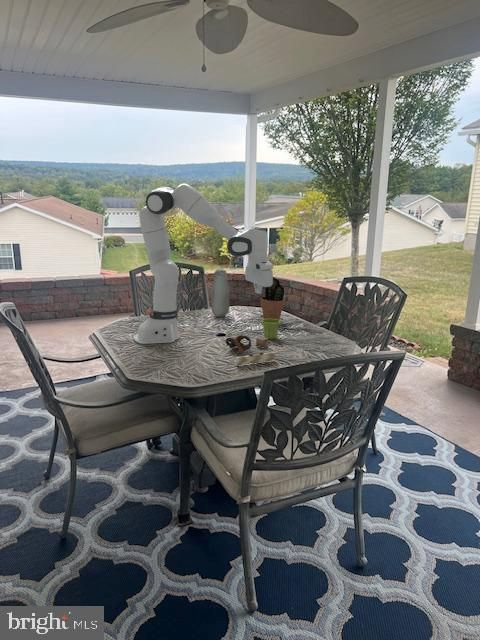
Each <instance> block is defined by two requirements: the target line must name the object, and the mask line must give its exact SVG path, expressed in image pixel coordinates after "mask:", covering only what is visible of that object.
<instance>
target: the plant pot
mask: <svg viewBox="0 0 480 640" xmlns="http://www.w3.org/2000/svg"><path fill="white" fill-rule="evenodd" d="M261 323H262V326H263V334H264V335H263V337H265V338H268V340H270V339H271V340H272V339H274V338H275V339H277V337H278V331H279V326H280V323H281V320H277V319H264V318H263V319H262V320H261Z"/></svg>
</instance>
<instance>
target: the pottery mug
mask: <svg viewBox="0 0 480 640" xmlns="http://www.w3.org/2000/svg"><path fill="white" fill-rule="evenodd" d="M244 339H245V340H246V341H247V342H248V344H244V343H242V340H244ZM225 344H226V345H227V346H228V348H229V349H230V350H231V349H232V348H233V347H234V348H236V347H237V348H238V350H237V353H238V352H239V353H238V354H240V353H241V354H243V353H244V352H247V351H249V350H250V348H251V347H252V340H251V339H250V337H249V336H247V335H243V334H240V335H237V336H236V337H234V338H232V337H226V339H225ZM234 348H233V349H234ZM233 349H232V350H233Z"/></svg>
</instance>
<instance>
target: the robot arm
mask: <svg viewBox="0 0 480 640" xmlns="http://www.w3.org/2000/svg"><path fill="white" fill-rule="evenodd" d="M175 208H177V209H179V210H181V211H182V212H183V213H184V214H186V215H187V216H188V217H189V218H190V219H191V220H193V221H194V222H195V223H197V224H199V225H203V226H207V227H210V228H213V230H215V231H217V232H218V233H219V234H220V235H221V236H222V238H225V240H227V245H226V249H227V251H228V253H229V254H230V255H232V256H233V257H238V258H240V257H243V256H247V259H248V262H246V266H245V270H244V271H245V272H244V273H245V276H244V278H245V280H246V281H247V282H249V283H253V287H254V290H255V291H254V292H255V294H258V295H261V294H262V292H263V288H264V287H271V286H272V284H273V277H274V275H273V274H274V273H273V270H274V264H273V263H272V262H271V261H270V259H269V255H268V247H269V241H268V233H267V231H266V230H265V229H264V228H262V227H259V226H250V227H249V228H248V229H246V230H244V231H241V230H240V231H239V230H237V229H236V228H235V227H233V225H232V224H230V222H228V221H227V220H226V219H225V218H224V217H223V216H222V215H221V214H220V213H219V212H218V211H217V210H216V209H215V207H214V206H213V204H211V203H210V201H209V200H208V198H206V197H205V196H204V195H203V194H202V193H201V192H199V191H198V190H197V189H195V188H194V187H193V186H191V185H190V184H188V183H181V184H179V185H178V186H176V188H175V187H173V186H170V185H165V186H160V187H157V188H155V189H153V190H151V191H150V192H149V193H148V194H147V195H146V198H145V206H144V207H142V208H141V209H140V210H139V213H138V218H139V225H140V230H141V234H142V237H143V240H144V244H145V249H146V253H147V259H148V263H149V269H150V272H151V274H152V276H153V277H154V287H153V292H152V295H153V297H152V298H153V299H152V301H153V308H152V310H150V309H147V310H146V313H147V314H148V315H149V317H148V318H147V319H146V320H145V321H143V322H142V323H141V324H140V325H139V326H138V331H137V333H136V334H134V335H133V340H134V342H136V343H138V344H140V345H149V344H150V345H151V344H167V343H169V344H170V343H173V342H175V341H177V340H179V339H180V338H181V336H180V331H179V327H178V318H179V317H178V314H179V313H178V309H177V293H178V292H177V291H178V284H179V277H180V270H179V267H178V265H177V264H176V263H175V262H174V261H173V260H172V254H171V247H170V246H171V244H170V239H169V236H168V232H167V228H166V224H165V220H164V217H165V215H166V213H169V212H171V211H172V210H175Z"/></svg>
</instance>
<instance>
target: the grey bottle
mask: <svg viewBox="0 0 480 640" xmlns="http://www.w3.org/2000/svg"><path fill="white" fill-rule="evenodd" d="M210 293H211V312H212V314H213V316H215V317H218V318H223V317H226V316H227V315H228V313H229V310H230V286H229V282H228V272H227V270H225V269H221V268H220V269H216V270H215V271H214V273H213V282H212V286H211V291H210Z"/></svg>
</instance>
